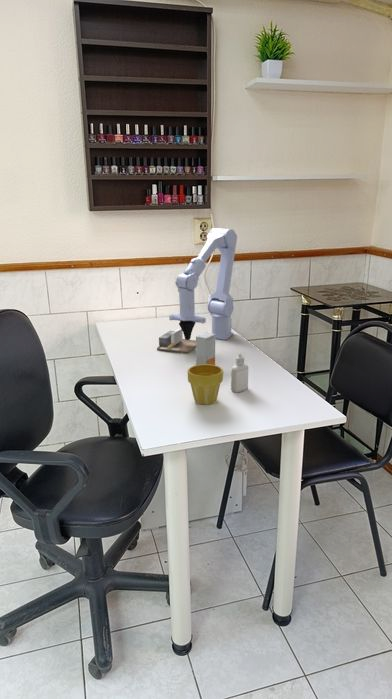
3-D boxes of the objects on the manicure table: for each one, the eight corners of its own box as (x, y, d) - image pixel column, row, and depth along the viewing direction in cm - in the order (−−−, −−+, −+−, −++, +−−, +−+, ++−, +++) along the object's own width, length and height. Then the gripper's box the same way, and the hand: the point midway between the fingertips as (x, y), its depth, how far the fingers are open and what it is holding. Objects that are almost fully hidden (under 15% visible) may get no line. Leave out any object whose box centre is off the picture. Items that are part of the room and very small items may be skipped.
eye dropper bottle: (250, 391, 153) (250, 355, 149) (232, 393, 152) (232, 356, 148) (246, 386, 157) (247, 350, 153) (229, 387, 156) (229, 351, 152)
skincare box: (205, 371, 169) (205, 338, 165) (195, 369, 172) (195, 336, 168) (215, 366, 174) (215, 333, 170) (206, 364, 176) (205, 331, 172)
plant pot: (202, 390, 154) (202, 361, 151) (229, 398, 148) (230, 368, 145) (181, 401, 147) (180, 370, 144) (208, 410, 140) (208, 379, 137)
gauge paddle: (179, 339, 199) (179, 328, 197) (182, 339, 199) (182, 328, 197) (167, 348, 189) (166, 336, 188) (170, 348, 189) (169, 336, 187)
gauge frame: (172, 339, 204) (172, 329, 202) (201, 343, 199) (201, 332, 198) (156, 350, 191) (155, 339, 190) (186, 354, 186) (186, 343, 185)
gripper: (165, 306, 188) (166, 340, 192) (200, 309, 182) (200, 344, 187) (173, 302, 194) (174, 335, 198) (207, 305, 188) (207, 338, 193)
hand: (187, 339), depth 193 cm, fingers closed
